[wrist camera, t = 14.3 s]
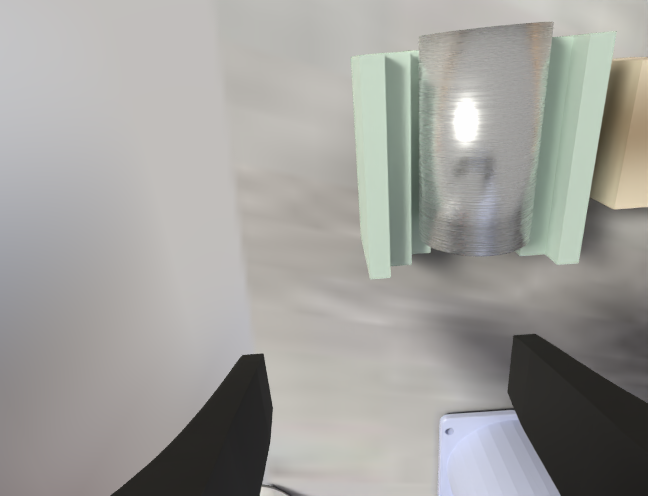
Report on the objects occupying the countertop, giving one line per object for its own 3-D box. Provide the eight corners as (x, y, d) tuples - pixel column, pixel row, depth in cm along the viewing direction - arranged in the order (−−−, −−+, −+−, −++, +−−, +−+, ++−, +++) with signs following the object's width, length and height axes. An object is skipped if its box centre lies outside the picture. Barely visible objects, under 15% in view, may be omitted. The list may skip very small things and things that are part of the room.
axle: (503, 212, 18) (551, 250, 15) (409, 221, 18) (432, 260, 15) (519, 29, 15) (582, 18, 12) (407, 39, 16) (436, 32, 12)
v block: (526, 223, 21) (578, 263, 16) (360, 236, 21) (370, 279, 17) (547, 38, 17) (616, 30, 13) (350, 57, 18) (359, 55, 14)
